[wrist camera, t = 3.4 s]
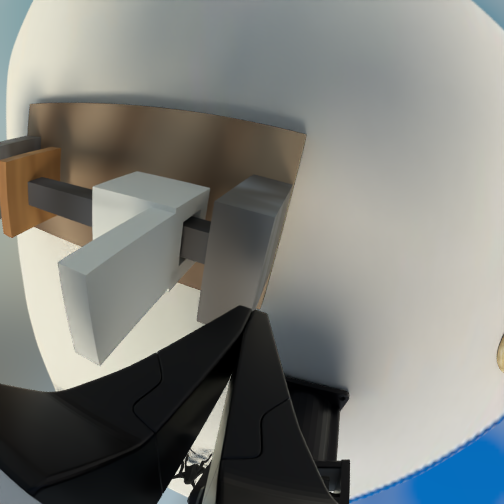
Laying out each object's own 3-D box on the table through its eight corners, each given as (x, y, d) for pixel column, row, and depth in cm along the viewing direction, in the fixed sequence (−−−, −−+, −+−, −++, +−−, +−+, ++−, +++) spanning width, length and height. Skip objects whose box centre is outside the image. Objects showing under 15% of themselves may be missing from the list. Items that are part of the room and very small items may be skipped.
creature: (188, 429, 29) (162, 454, 31) (175, 462, 24) (149, 483, 26) (245, 458, 30) (213, 480, 32) (239, 492, 25) (204, 509, 27)
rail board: (306, 134, 14) (293, 139, 8) (263, 300, 18) (232, 379, 12) (39, 103, 16) (-31, 113, 10) (37, 220, 21) (-21, 251, 15)
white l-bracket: (210, 188, 13) (85, 268, 6) (199, 257, 15) (100, 370, 8) (137, 171, 14) (-1, 226, 7) (132, 236, 15) (19, 318, 8)
